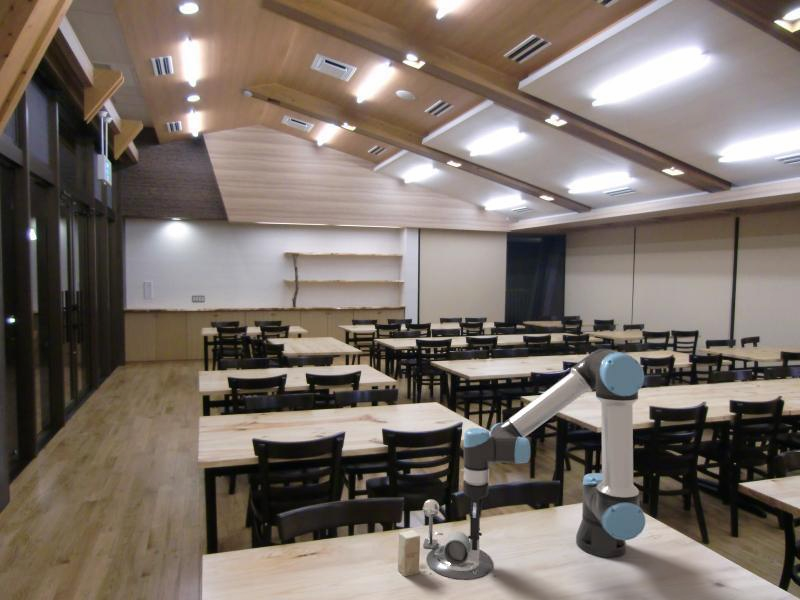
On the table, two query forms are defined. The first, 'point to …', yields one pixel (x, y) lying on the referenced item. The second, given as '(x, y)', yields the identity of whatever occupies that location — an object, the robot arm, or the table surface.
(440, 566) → the platter
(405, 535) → the box
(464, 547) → the ceramic mug
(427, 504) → the dial stand
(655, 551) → the table surface
